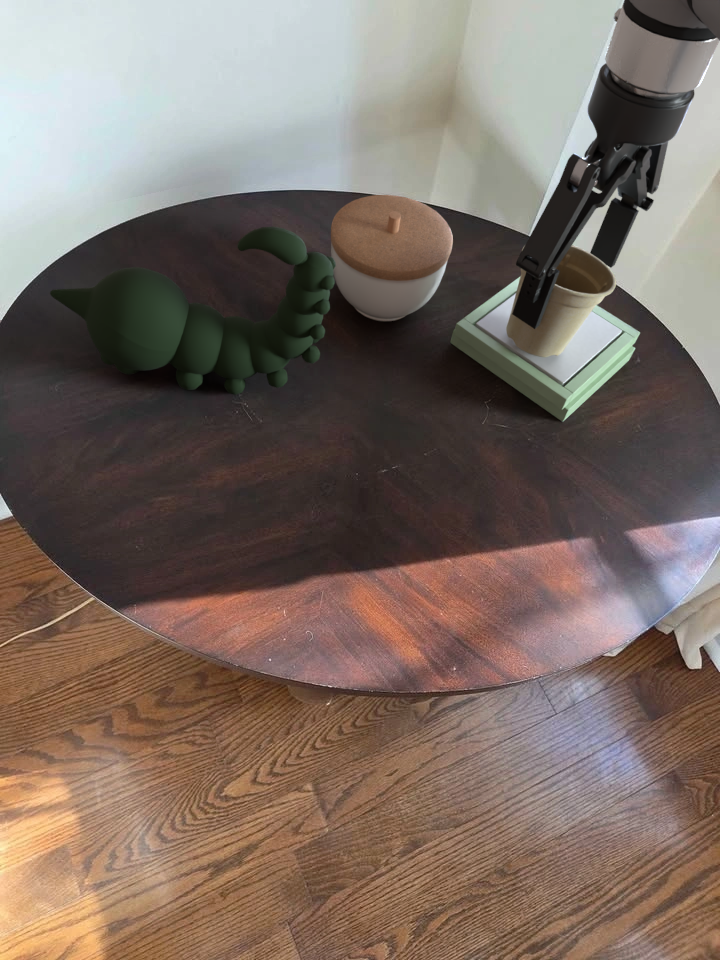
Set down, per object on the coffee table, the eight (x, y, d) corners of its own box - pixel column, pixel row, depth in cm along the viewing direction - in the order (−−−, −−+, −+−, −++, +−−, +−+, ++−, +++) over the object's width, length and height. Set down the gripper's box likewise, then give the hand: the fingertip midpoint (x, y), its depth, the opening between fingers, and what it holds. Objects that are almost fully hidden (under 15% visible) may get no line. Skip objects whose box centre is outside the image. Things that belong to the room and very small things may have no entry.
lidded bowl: (312, 323, 84) (317, 238, 75) (341, 252, 91) (349, 167, 82) (426, 350, 83) (445, 268, 74) (446, 276, 90) (465, 193, 81)
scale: (631, 357, 85) (644, 334, 83) (559, 425, 79) (570, 402, 76) (523, 287, 90) (531, 263, 88) (446, 345, 84) (452, 321, 81)
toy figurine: (314, 356, 83) (72, 323, 80) (343, 206, 68) (46, 156, 64) (309, 425, 78) (49, 391, 74) (340, 277, 63) (15, 227, 59)
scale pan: (617, 341, 84) (622, 330, 82) (558, 393, 78) (563, 383, 77) (533, 287, 87) (537, 276, 86) (472, 334, 82) (475, 323, 81)
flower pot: (481, 305, 81) (512, 231, 75) (563, 318, 84) (599, 247, 78) (501, 362, 75) (535, 286, 69) (588, 374, 77) (629, 301, 71)
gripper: (685, 12, 67) (601, 220, 85) (516, 106, 55) (458, 326, 73) (763, 47, 65) (660, 255, 82) (603, 154, 53) (522, 370, 70)
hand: (565, 289), depth 77 cm, fingers open, 13 cm apart
